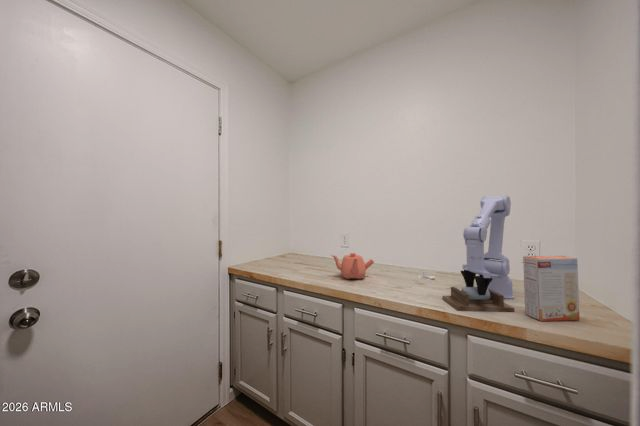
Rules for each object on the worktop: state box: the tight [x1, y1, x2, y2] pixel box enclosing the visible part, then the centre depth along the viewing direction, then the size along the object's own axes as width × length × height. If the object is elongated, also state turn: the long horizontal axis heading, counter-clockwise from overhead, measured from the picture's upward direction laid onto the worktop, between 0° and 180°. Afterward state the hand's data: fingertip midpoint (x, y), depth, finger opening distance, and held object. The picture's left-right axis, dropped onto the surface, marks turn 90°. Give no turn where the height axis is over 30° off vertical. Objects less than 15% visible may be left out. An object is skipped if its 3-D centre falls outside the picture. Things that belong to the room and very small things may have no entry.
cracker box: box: [522, 255, 581, 322], centre depth 79 cm, size 14×6×21 cm, turn 92°
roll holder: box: [441, 286, 515, 313], centre depth 90 cm, size 20×12×6 cm, turn 86°
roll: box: [460, 286, 490, 300], centre depth 90 cm, size 8×5×5 cm, turn 87°
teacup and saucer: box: [417, 270, 436, 281], centre depth 131 cm, size 9×8×4 cm
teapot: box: [330, 252, 375, 280], centre depth 133 cm, size 18×18×14 cm
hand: (475, 291), depth 90 cm, fingers open, 7 cm apart
